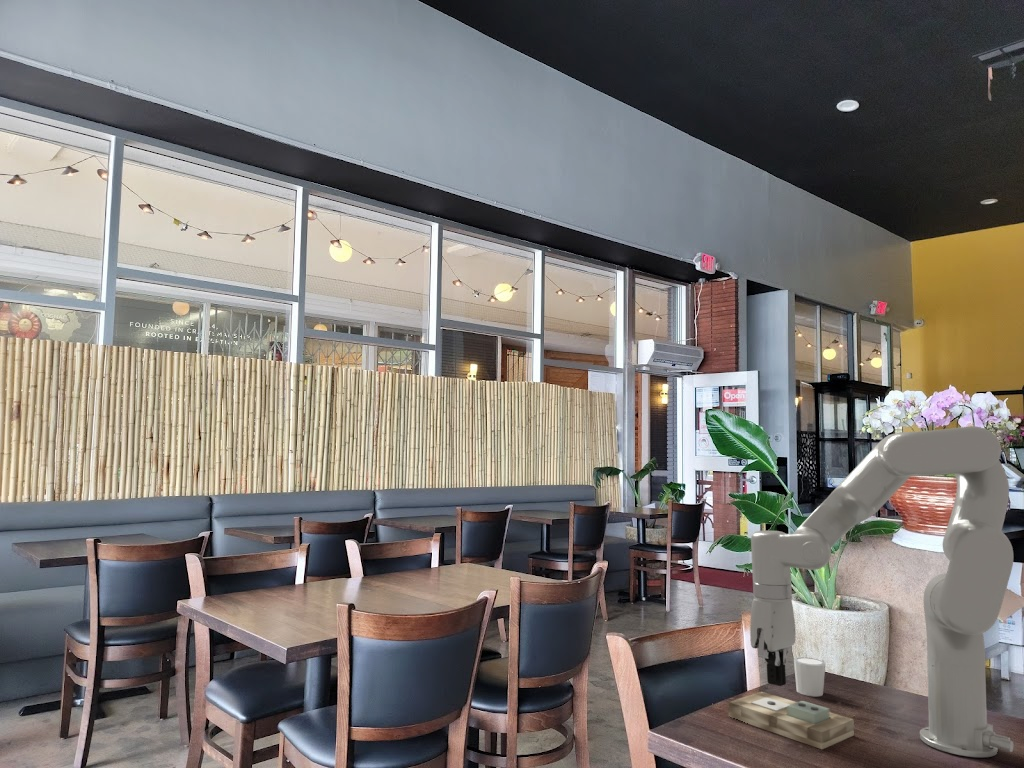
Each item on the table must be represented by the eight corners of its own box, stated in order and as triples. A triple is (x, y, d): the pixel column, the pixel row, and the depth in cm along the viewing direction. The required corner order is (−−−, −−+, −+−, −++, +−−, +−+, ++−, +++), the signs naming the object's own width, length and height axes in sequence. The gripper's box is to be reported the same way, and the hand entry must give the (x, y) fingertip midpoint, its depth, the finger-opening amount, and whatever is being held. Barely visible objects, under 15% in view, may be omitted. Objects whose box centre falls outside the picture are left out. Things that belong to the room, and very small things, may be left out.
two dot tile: (829, 720, 143) (829, 707, 143) (814, 726, 139) (814, 713, 139) (802, 711, 147) (802, 699, 147) (787, 717, 144) (787, 704, 144)
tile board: (853, 735, 142) (853, 719, 142) (822, 749, 135) (822, 732, 135) (761, 705, 158) (761, 691, 158) (728, 717, 150) (728, 701, 150)
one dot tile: (791, 716, 149) (791, 703, 149) (776, 721, 145) (776, 709, 146) (766, 708, 153) (766, 696, 153) (751, 713, 150) (751, 701, 150)
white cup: (829, 698, 164) (828, 666, 165) (796, 695, 165) (796, 663, 166) (822, 689, 171) (822, 658, 171) (791, 686, 172) (791, 655, 173)
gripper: (775, 585, 159) (780, 673, 157) (735, 593, 150) (739, 687, 148) (808, 589, 153) (813, 681, 151) (768, 598, 144) (773, 695, 142)
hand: (776, 683), depth 149 cm, fingers closed
